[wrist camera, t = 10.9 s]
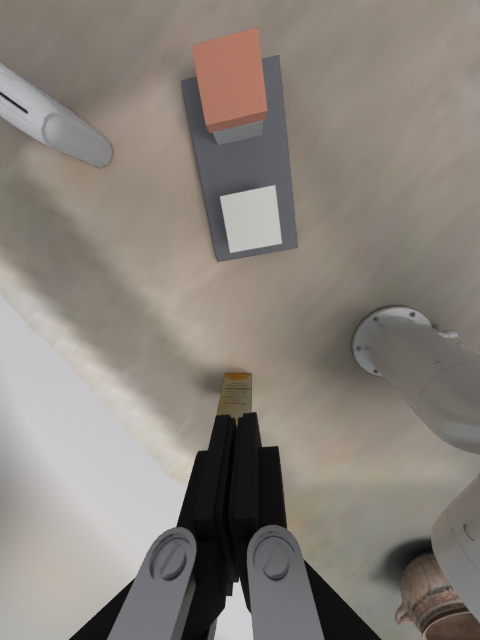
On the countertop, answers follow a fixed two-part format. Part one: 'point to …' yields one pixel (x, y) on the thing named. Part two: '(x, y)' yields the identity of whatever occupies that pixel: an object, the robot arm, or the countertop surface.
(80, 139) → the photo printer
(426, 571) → the cooking pot
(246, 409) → the shoe polish box
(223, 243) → the block
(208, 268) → the countertop surface
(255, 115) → the salmon pink block
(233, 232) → the white plunger
